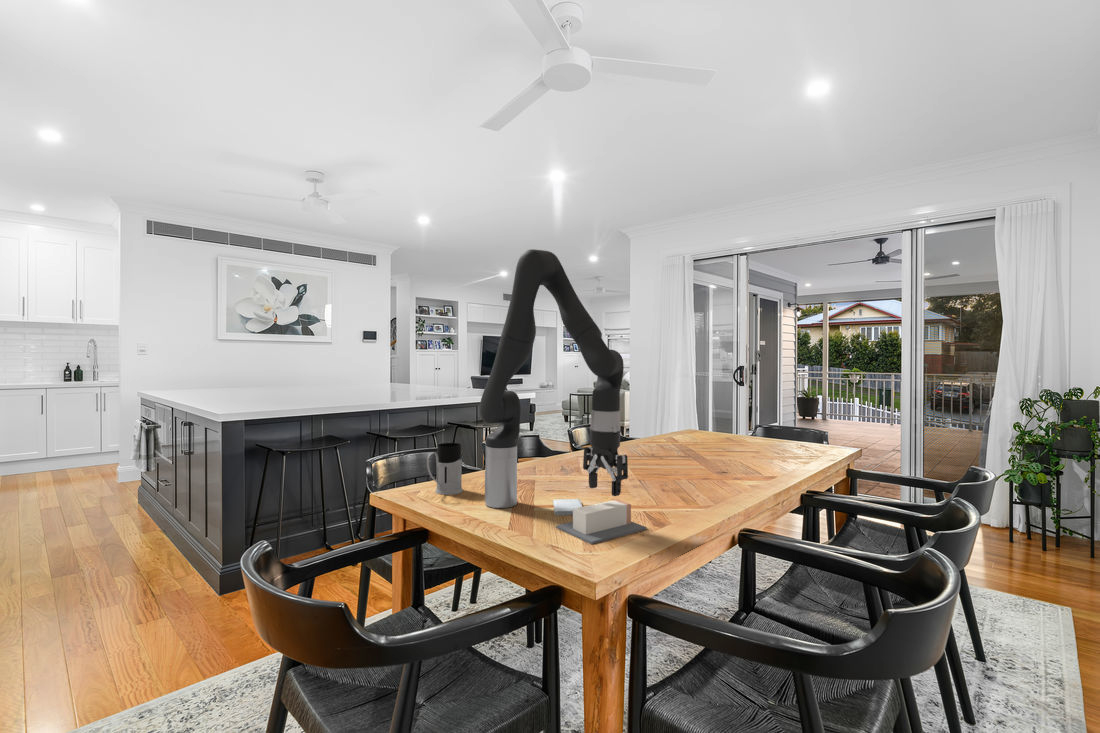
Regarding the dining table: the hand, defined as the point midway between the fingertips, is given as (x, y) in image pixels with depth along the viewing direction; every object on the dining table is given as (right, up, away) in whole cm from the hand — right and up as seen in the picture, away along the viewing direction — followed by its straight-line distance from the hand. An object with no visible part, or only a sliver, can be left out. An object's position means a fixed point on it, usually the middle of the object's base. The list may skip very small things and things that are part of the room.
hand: (604, 491), depth 130 cm
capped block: (-7, -6, -5) cm, 10 cm away
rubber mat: (-1, -9, -1) cm, 9 cm away
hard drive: (-9, -10, +16) cm, 21 cm away
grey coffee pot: (-48, -9, +32) cm, 58 cm away
